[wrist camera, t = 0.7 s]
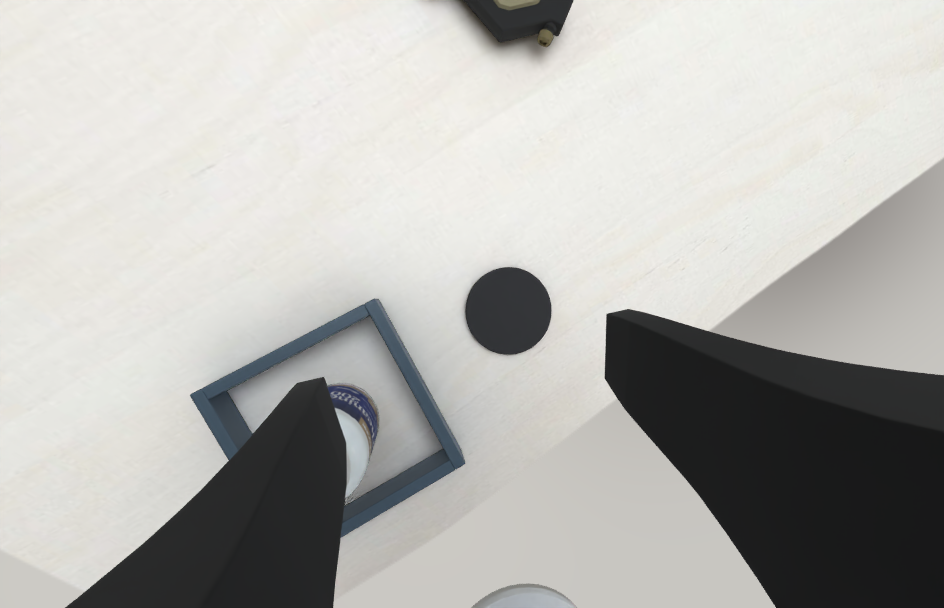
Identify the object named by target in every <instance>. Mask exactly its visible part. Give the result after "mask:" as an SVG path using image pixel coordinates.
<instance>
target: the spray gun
mask: <svg viewBox="0 0 944 608" xmlns="http://www.w3.org/2000/svg"><path fill="white" fill-rule="evenodd" d="M464 1H465V2H466V3H467V5H468V6H469V7H470V8H471V9H472V11H473V12H474V13H475V14H476V15H477V17H478V18H479V19H480V20H481V21H482V22H483V24H484V25H485V26H486V27H487V28H488V29H489V31H490V32H491V33H492V34H493V35H494V36H495V38H496V39H497V40H498V41H499V42H504V41H508V40H513V39H517V38H521V37H525V36H529V35H533V34H538V33H539V35H538V38H537V41H538V43H539V44H540V45H541V46H544V47H547V46H549V45H550V43H551V41H552V40H553V35H556V36H559V34H560V31H561V29H562V27H563V25H564V22H565V20H566V17H567V15H568V12H569V10H570V8H571V5H572V3H573V0H464Z"/></svg>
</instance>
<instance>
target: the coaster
mask: <svg viewBox="0 0 944 608" xmlns="http://www.w3.org/2000/svg"><path fill="white" fill-rule="evenodd" d="M466 319H467V324H468V327H469V329H470V331H471V333H472V334H473V336H474V337H475V339H476V340H477V341H478V342H479V343H480V344H481V345H483V346H484V347H486V348H487V349H489V350H491V351H493V352H496V353H500V354H517V353H521V352H524V351H526V350H528V349H530V348H532V347H533V346H534V345H536V344H537V343H538V342H539V341H540V340H541V339H542V337H543V336H544V334H545V333H546V331H547V329H548V326H549V323H550V319H551V302H550V298H549V295H548V293H547V291H546V289H545V287H544V286H543V284H542V283H541V282H540V281H539V280H538V279H537V278H536V277H535V276H534V275H532V274H531V273H529V272H527V271H525V270H522V269H519V268H512V267H506V268H499V269H496V270H493V271H491V272H489V273H487V274H485V275H484V276H482V277H481V278H480V279H479V280H478V281H477V282H476V283H475V284H474V286H473V287H472V289H471V291H470V293H469V295H468V298H467V303H466Z"/></svg>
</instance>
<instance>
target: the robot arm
mask: <svg viewBox="0 0 944 608" xmlns="http://www.w3.org/2000/svg"><path fill="white" fill-rule="evenodd" d="M605 379H606V381H607V383H608V384H609V386H610V387H611V389H612V391H613V392H614V394H615V395H616V397H617V398H618V400H619V401H620V403H621V404H622V406H623V407H624V408H625V410H626V411H627V412H628V413H629V415H630V416H631V417H632V418H633V419H634V420H635V422H636V423H637V424H638V425H639V426H640V427H641V429H642V430H643V431H644V432H645V433H646V434H647V435H648V437H649V438H650V439H651V440H652V441H653V442H654V443H655V444H656V446H658V448H659V449H660V450H661V451H662V453H663V454H664V455H665V456H666V457H667V458H668V459H669V460H670V462H671V463H672V464H673V465H674V466H675V467H676V468H677V470H678V471H679V472H680V473H681V474H682V475H683V476H684V478H685V479H686V480H687V481H688V482H689V484H690V485H691V486H692V487H693V488H694V490H695V491H696V492H697V493H698V495H699V496H700V497H701V499H702V500H703V501H704V502H705V504H706V506H707V507H708V508H709V510H710V511H711V513H712V514H713V515H714V517H715V518H716V519H717V521H718V522H719V524H720V525H721V526H722V528H723V529H724V530H725V532H726V533H727V535H728V536H729V537H730V539H731V541H732V542H733V544H734V545H735V546H736V548H737V549H738V551H739V552H740V554H741V555H742V557H743V558H744V560H745V561H746V563H747V564H748V565H749V567H750V568H751V570H752V571H753V573H754V574H755V576H756V577H757V579H758V580H759V582H760V583H761V585H762V586H763V588H764V590H765V591H766V593H767V594H768V596H769V597H770V599H771V601H772V602H773V604H774V605H775V607H776V608H944V375H935V374H925V373H917V372H907V371H900V370H892V369H885V368H878V367H871V366H863V365H856V364H850V363H844V362H838V361H832V360H826V359H822V358H816V357H811V356H806V355H801V354H796V353H791V352H786V351H782V350H777V349H773V348H768V347H765V346H761V345H757V344H753V343H748V342H745V341H741V340H737V339H734V338H730V337H726V336H723V335H719V334H716V333H712V332H709V331H705V330H702V329H699V328H695V327H692V326H689V325H685V324H682V323H679V322H675V321H672V320H669V319H665V318H662V317H659V316H655V315H651V314H648V313H644V312H640V311H635V310H630V309H627V310H622V311H618V312H613V313H609V314H607V320H606V354H605ZM346 485H347V450H346V440H345V437H344V434H343V431H342V428H341V426H340V423H339V420H338V417H337V414H336V411H335V408H334V405H333V402H332V399H331V396H330V393H329V390H328V387H327V384H326V381H325V378H324V377H322V378H317V379H313V380H308V381H304V382H299V383H297V384H296V385H295V386H294V387H293V388H292V389H291V390H290V391H289V393H288V394H287V395H286V396H285V397H284V398H283V400H282V401H281V402H280V403H279V404H278V405H277V407H276V408H275V409H274V410H273V411H272V413H271V414H270V415H269V416H268V417H267V419H266V420H265V421H264V422H263V423H262V424H261V426H260V427H259V428H258V429H257V430H256V431H255V432H254V434H253V435H252V436H251V437H250V438H249V439H248V441H247V442H246V443H245V444H244V445H243V446H242V447H241V448H240V449H239V451H238V452H237V453H236V454H235V455H234V456H233V457H232V458H231V459H230V460H229V461H228V462H227V463H226V464H225V465H224V466H223V468H222V469H221V470H220V471H219V472H218V473H217V474H216V475H215V476H214V477H213V478H212V479H211V480H210V481H209V482H208V483H207V485H206V486H205V487H204V488H203V489H202V490H201V491H200V492H199V493H198V494H196V495H195V496H194V497H193V498H192V499H191V500H190V501H189V502H188V503H187V504H186V505H185V506H184V507H183V508H182V509H181V510H180V511H179V512H178V513H177V514H175V515H174V516H173V517H172V518H171V519H170V520H169V521H168V522H167V523H166V524H165V525H163V526H162V527H161V528H160V529H159V530H158V531H157V532H156V533H155V534H154V535H152V536H151V537H150V538H149V539H148V540H147V541H146V542H145V543H143V544H142V545H141V546H140V547H139V548H137V549H136V550H135V551H134V552H133V553H131V554H130V555H129V556H128V557H127V558H125V559H124V560H123V561H122V562H121V563H119V564H118V565H117V566H116V567H114V568H113V569H112V570H111V571H110V572H108V573H107V574H106V575H105V576H104V577H102V578H101V579H100V580H99V581H98V582H96V583H95V584H94V585H93V586H91V587H90V588H89V589H88V590H87V591H85V592H84V593H83V594H82V595H81V596H79V597H78V598H77V599H76V600H74V601H73V602H72V603H71V604H69V605H68V606H67V607H65V608H333V602H334V589H335V579H336V571H337V562H338V554H339V546H340V538H341V529H342V521H343V512H344V504H345V495H346Z"/></svg>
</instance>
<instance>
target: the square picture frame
mask: <svg viewBox="0 0 944 608" xmlns="http://www.w3.org/2000/svg"><path fill="white" fill-rule="evenodd" d="M368 316H371V318H372V320H373V321H374V323H375V325H376V327H377V329H378V330H379V332H380V334H381V336H382V338H383V340H384V341H385V343H386V345H387V347H388V349H389V350H390V352H391V354H392V356H393V358H394V359H395V361H396V363H397V365H398V367H399V369H400V370H401V372H402V374H403V376H404V378H405V379H406V381H407V383H408V385H409V387H410V389H411V390H412V392H413V394H414V396H415V398H416V399H417V401H418V403H419V405H420V407H421V408H422V410H423V412H424V414H425V416H426V418H427V419H428V421H429V423H430V425H431V427H432V428H433V430H434V432H435V434H436V436H437V438H438V439H439V441H440V443H441V445H442V447H443V448H444V449H442V450H440V451H439V452H437V453H435V454H434V455H432V456H430V457H428V458H427V459H425V460H423V461H422V462H420V463H418V464H416V465H415V466H413V467H411V468H410V469H408V470H406V471H404V472H403V473H401V474H399V475H398V476H396V477H394V478H392V479H391V480H389V481H387V482H385V483H384V484H382V485H380V486H379V487H377V488H375V489H373V490H372V491H370V492H368V493H367V494H365V495H363V496H361V497H360V498H358V499H356V500H355V501H353V502H351V503H349V504H348V505H346V506H344V512H343V521H342V529H341V537H343V536H344V535H346V534H348V533H349V532H351V531H353V530H354V529H356V528H358V527H359V526H361V525H363V524H365V523H366V522H368V521H370V520H371V519H373V518H375V517H376V516H378V515H380V514H381V513H383V512H385V511H387V510H388V509H390V508H392V507H393V506H395V505H397V504H398V503H400V502H402V501H403V500H405V499H407V498H408V497H410V496H412V495H414V494H415V493H417V492H419V491H420V490H422V489H424V488H425V487H427V486H429V485H430V484H432V483H434V482H436V481H437V480H439V479H441V478H442V477H444V476H446V475H447V474H449V473H451V472H452V471H454V470H455V469H457V468H459V467H461V466H462V465H464V464H465V460H464V457H463V454H462V450H461V448H460V446H459V445H458V443H457V441H456V439H455V437H454V435H453V434H452V432H451V430H450V428H449V426H448V424H447V423H446V421H445V419H444V417H443V415H442V413H441V412H440V410H439V408H438V406H437V404H436V402H435V401H434V399H433V397H432V395H431V393H430V392H429V390H428V388H427V386H426V384H425V382H424V381H423V379H422V377H421V375H420V373H419V371H418V370H417V368H416V366H415V364H414V362H413V360H412V359H411V357H410V355H409V353H408V351H407V349H406V348H405V346H404V344H403V342H402V340H401V339H400V337H399V335H398V333H397V331H396V329H395V328H394V326H393V324H392V322H391V320H390V318H389V317H388V315H387V313H386V311H385V309H384V307H383V306H382V304H381V302H380V300H379V299H373V300H371V301H369V302H367V303H365V304H364V305H361V306H359V307H357V308H355V309H353V310H352V311H350V312H348V313H346V314H344V315H342V316H340V317H338V318H336V319H334V320H332V321H330V322H329V323H327V324H325V325H323V326H321V327H319V328H317V329H315V330H313V331H311V332H309V333H307V334H305V335H304V336H302V337H300V338H298V339H296V340H294V341H292V342H290V343H288V344H286V345H284V346H282V347H281V348H279V349H277V350H275V351H273V352H271V353H269V354H267V355H265V356H263V357H261V358H259V359H257V360H256V361H254V362H252V363H250V364H248V365H246V366H244V367H242V368H240V369H238V370H236V371H234V372H232V373H231V374H229V375H227V376H225V377H223V378H221V379H219V380H217V381H215V382H213V383H211V384H209V385H208V386H206V387H204V388H202V389H200V390H198V391H196V392H194V393H192V394H191V395H190V396H191V398H192V400H193V401H194V403H195V405H196V406H197V408H198V410H199V411H200V413H201V415H202V416H203V418H204V420H205V421H206V423H207V425H208V426H209V428H210V430H211V431H212V433H213V435H214V436H215V438H216V440H217V442H218V443H219V445H220V447H221V448H222V450H223V452H224V453H225V455H226V457H227V458H228V460H230V459H231V458H232V457H233V456H234V455H235V454H236V453H237V452H238V451H239V449H240V448H241V447H242V446H243V445H244V444H245V443H246V442H247V441H248V439H249V438H250V437H251V436H252V433H251V431H250V430H249V428H248V426H247V425H246V423H245V421H244V420H243V418H242V416H241V415H240V413H239V411H238V409H237V408H236V406H235V404H234V403H233V401H232V399H231V398H230V396H229V394H228V393H227V391H228V390H229V389H231V388H233V387H235V386H237V385H239V384H241V383H243V382H245V381H247V380H249V379H250V378H252V377H254V376H256V375H258V374H260V373H262V372H264V371H266V370H268V369H269V368H271V367H273V366H275V365H277V364H279V363H281V362H283V361H285V360H287V359H288V358H290V357H292V356H294V355H296V354H298V353H300V352H302V351H304V350H306V349H308V348H309V347H311V346H313V345H315V344H317V343H319V342H321V341H323V340H325V339H327V338H328V337H330V336H332V335H334V334H336V333H338V332H340V331H342V330H344V329H346V328H347V327H349V326H351V325H353V324H355V323H357V322H359V321H361V320H363V319H365V318H367V317H368Z"/></svg>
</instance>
